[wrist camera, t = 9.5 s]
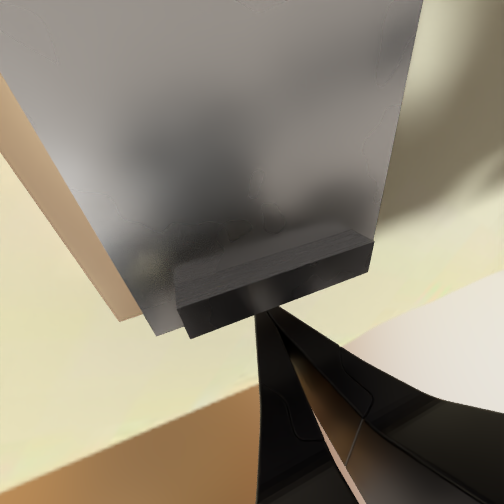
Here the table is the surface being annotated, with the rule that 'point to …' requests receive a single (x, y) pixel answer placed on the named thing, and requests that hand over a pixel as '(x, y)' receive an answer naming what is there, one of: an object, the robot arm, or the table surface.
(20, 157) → the frame
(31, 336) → the table surface
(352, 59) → the gray slider block
